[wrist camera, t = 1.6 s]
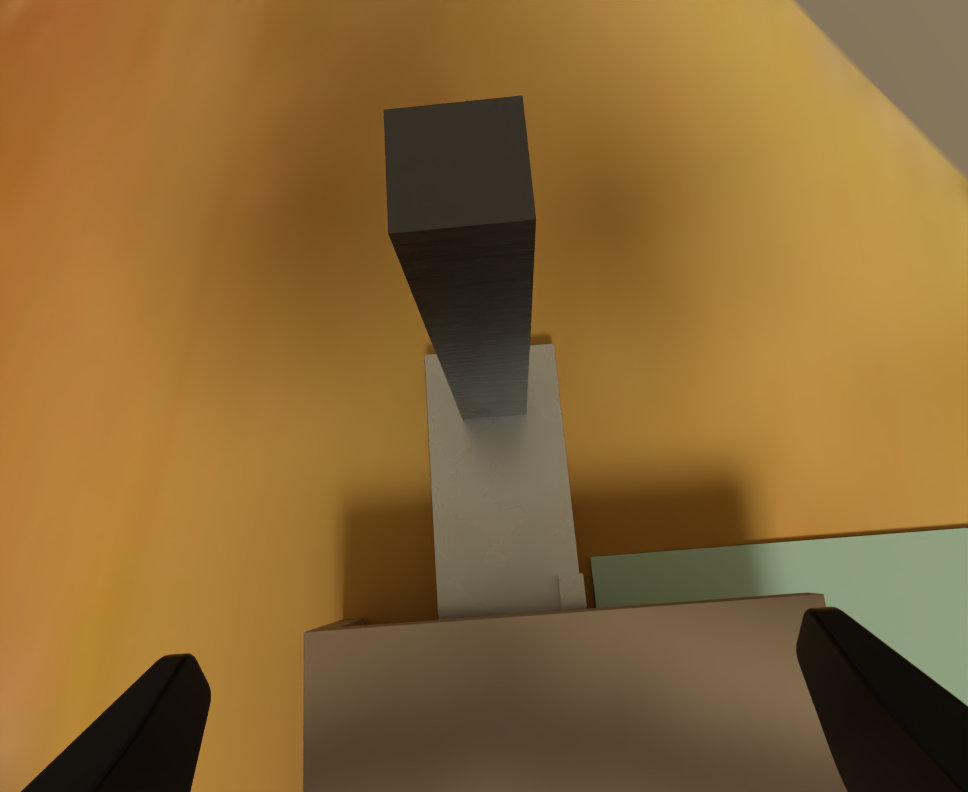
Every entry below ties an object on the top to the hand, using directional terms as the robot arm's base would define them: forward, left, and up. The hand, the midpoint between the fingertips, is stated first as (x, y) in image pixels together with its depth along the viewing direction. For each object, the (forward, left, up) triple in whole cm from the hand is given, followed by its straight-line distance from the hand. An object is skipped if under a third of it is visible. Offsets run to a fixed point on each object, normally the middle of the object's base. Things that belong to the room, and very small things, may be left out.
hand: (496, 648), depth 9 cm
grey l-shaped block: (+1, +1, -13) cm, 13 cm away
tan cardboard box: (-3, -4, -13) cm, 14 cm away
